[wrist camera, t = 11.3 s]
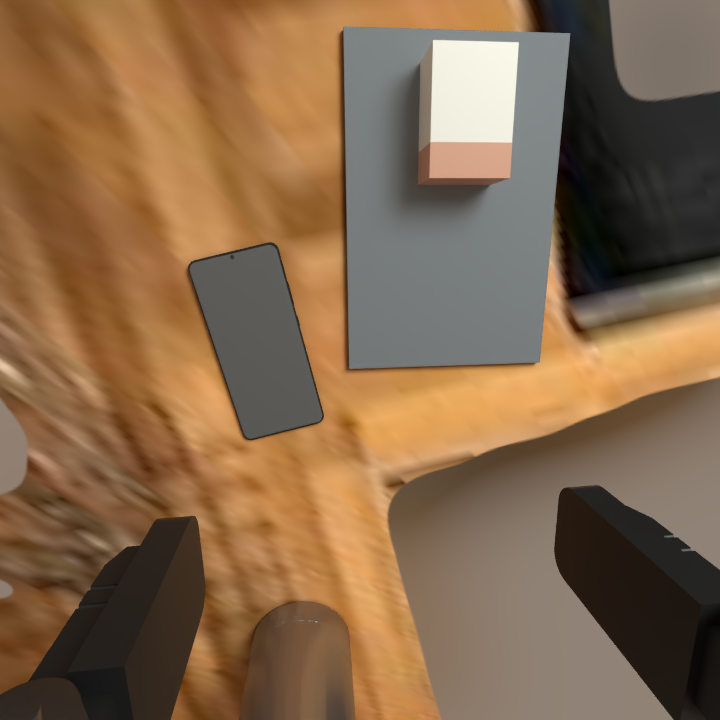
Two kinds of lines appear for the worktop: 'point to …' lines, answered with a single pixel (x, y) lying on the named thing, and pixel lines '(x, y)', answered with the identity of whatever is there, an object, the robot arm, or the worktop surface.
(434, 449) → the worktop surface
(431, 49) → the card box
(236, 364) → the smartphone
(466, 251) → the mat
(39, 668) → the robot arm
